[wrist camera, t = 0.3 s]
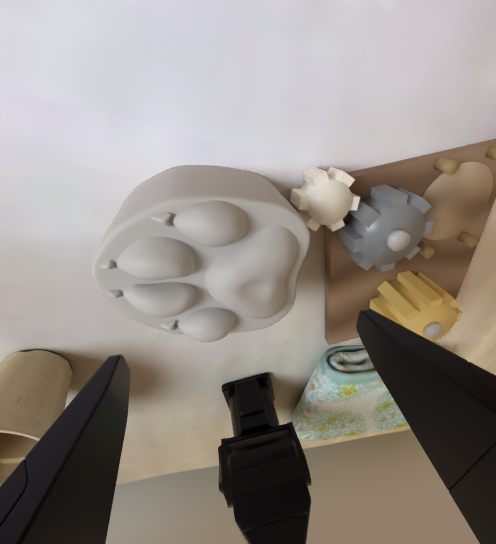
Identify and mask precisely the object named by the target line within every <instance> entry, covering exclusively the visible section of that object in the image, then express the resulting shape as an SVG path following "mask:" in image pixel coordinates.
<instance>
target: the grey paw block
mask: <svg viewBox="0 0 496 544" xmlns="http://www.w3.org/2000/svg"><path fill="white" fill-rule="evenodd" d="M309 245H310V232H309V229H308V226H307V224H306V223H305V221H304V220H303V218H302V217H301V216H300V215H299V213H298V212H297V211H296V210H295V209H294V208H293V207H292V206H291V204H290V203H289V202H288V201H287V200H286V199H285V198H284V197H283V196H282V195H281V193H280V192H279V191H278V190H277V189H276V188H275V187H274V186H273V185H272V183H271V182H270V181H268V180H267V179H266V178H264V177H263V176H261V175H259V174H256V173H253V172H250V171H245V170H239V169H234V168H228V167H220V166H207V165H184V166H176V167H173V168H170V169H167V170H165V171H163V172H161V173H159V174H157V175H155V176H153V177H151V178H149V179H148V180H146V181H144V182H143V183H141V184H140V185H139V186H137V187H136V188H135V189H134V190H133V191H132V192H131V193H130V194H129V196H128V197H127V198H126V200H125V201H124V203H123V204H122V206H121V208H120V209H119V211H118V213H117V215H116V216H115V218H114V220H113V222H112V223H111V225H110V227H109V229H108V230H107V232H106V234H105V236H104V238H103V239H102V241H101V243H100V245H99V247H98V249H97V251H96V253H95V256H94V259H93V262H92V275H93V279H94V282H95V285H96V287H97V288H98V290H99V291H100V293H101V294H102V295H103V297H104V298H105V299H106V300H107V301H108V302H109V303H111V304H112V305H113V306H114V307H115V308H117V309H118V310H119V311H121V312H122V313H123V314H125V315H126V316H128V317H130V318H132V319H133V320H135V321H138V322H140V323H143V324H145V325H148V326H150V327H154V328H157V329H160V330H163V331H166V332H170V333H174V334H185V335H187V336H188V337H190V338H192V339H194V340H197V341H200V342H213V341H217V340H219V339H222V338H223V337H225V336H226V335H227V334H228V333H235V332H245V331H253V330H258V329H262V328H266V327H268V326H271V325H273V324H274V323H276V322H277V321H279V320H280V319H282V318H283V317H284V316H285V315H286V314H287V313H288V312H289V311H290V309H291V308H292V306H293V304H294V300H295V295H296V281H297V276H298V273H299V270H300V267H301V265H302V263H303V261H304V259H305V257H306V255H307V252H308V249H309Z"/></svg>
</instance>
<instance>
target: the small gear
mask: <svg viewBox="0 0 496 544" xmlns="http://www.w3.org/2000/svg"><path fill="white" fill-rule="evenodd" d="M302 174H303V177H304V179H305V181H304V182H303V183H302V185H301V186H300V188H299V189H294V188H291V197H290V202H292V203H293V204H294V205H295V206H296V207H297V208H298V209H299V210H300V211H299V212H298V213H299V215H300V216H301V217H302V218H303V220H304V221H305V223H306V224H307V226H308V227H309V228H310V229H312V230H314V231H315V232H316V231H317V229H318V228H319V227H320V225H321V224H322V225H326V226H327V227H328V228H329V229H330V230H331V231H332V232H334V231H335V230H337V229H339V228H341V227H343V226H345V225H344V222H343V218H344V217H345V216H346V215H347V213H348V212H349V210H357V208H358V204H359V200H360V197H359V196H357V195H355V194H353V193H351V191H350V189H349V187H350V186H351V185H352V183H353V182H354V181H355V179H354V178H352V177H351V176H350V175H348V174H347V173H346V172H344V171H341V170H338V169H335V168H332V167H330V169H329V170H328V171H327V172H326V171H324V170H322V169H319V168H317V167H314V166H313V167H312V168H310V169H308V170H306V171H304V172H303V173H302Z"/></svg>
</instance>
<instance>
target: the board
mask: <svg viewBox="0 0 496 544" xmlns="http://www.w3.org/2000/svg"><path fill="white" fill-rule="evenodd" d="M347 174H348V175H350V176H351V177H352V178H354V179H355V181H354V182H353V183H352V185H351V186H350V187H349V189H350V191H351V193H353V194H355V195H357V196H359V197H360V201H361V202H362V201H363V200H364V199H366V198H368V197H370V195H371V187H375V186H379V185H384V184H386V185H388V186H390V187H392V188H394V189H396V190H397V189H398V188H399V187H400V188H402V189H405V190H407V191H409V192H411V193H413V194H416V195H418V196H420V197H422V198H424V199H425V200H426V201H427V202H428V203H429V204H430V205H431V207H430V208H429V209H428V210H427V211H426V212H425V213H424V214H423V215H424V216H426V217H428V218H430V219H432V220H434V223H433V227H432V230H431V234H429V235H425V236H422V238H421V240H420V242H419V243H418V245H417V247H418V248H420V249H421V250H420V251H419V252H418V253H417V254H415V255H414V256H413V257H412V258H411V259H410V260H409V259H408V258H406V257H404V258H402V259H401V260H399V261H397V262H395V266H394V269H392V270H388V271H384V272H380V271H379V270H378V269H377V268H376V267H375V266H374V265H372V266H371V267H370V268H369V269H368V270H365V269H364V268H362V267H361V266H359V265H358V264H357V263H356V262H355V261H354V260H353V259H352V258H351V257H350V256H349V255H348V254H347V253H346V252H345V251H344V250H343V248H344V247H345V246H346V245H345V244H344V243H343V242H342V241H341V240H340V239H339V238H338V229H337V230H335V231H334V232H332V231H331V230H330V229H329V228H328V227H327V226H326V245H325V339H326V341H327V342H328V344H329V345H331V344H335V343H339V342H342V341H346V340H350V339H354V338H357V337H360V336H359V334H358V332H357V329H356V323H357V319H358V315H359V312H360V311H361V310H365V309H371V308H370V300H371V299H373V298H377V296H378V294H379V293H380V291H379V290H378V289H377V288H378V287H379V286H380V285H381V284H382V283H383V282H384V281H387V282H388V283H390V282H391V281H393V280H395V279H397V277H398V273H401V272H405V271H410V272H412V273H413V274H414V275H415V276H416V275H417V274H418V273H419V272H421V273H422V274H424V275H425V276H426V277H428V278H429V279H430V280H431V281H433V282H434V283H435V284H437V285H438V286H439V287H440V288H442V289H443V290H444V291H446V292H447V293H448V294H449V295H451V296H452V297H453V298H455V299H456V297H457V295H458V292H459V290H460V287H461V285H462V282H463V280H464V277H465V274H466V272H467V269H468V267H469V264H470V262H471V259H472V257H473V254H474V251H475V249H476V246H477V244H478V243H479V241H480V236H481V233H482V231H483V228H484V226H485V223H486V221H487V218H488V216H489V213H490V210H491V208H492V205H493V203H494V200H495V198H496V139H493V140H489V141H485V142H480V143H476V144H471V145H467V146H463V147H458V148H454V149H450V150H445V151H441V152H436V153H432V154H428V155H423V156H419V157H415V158H410V159H406V160H401V161H397V162H393V163H388V164H384V165H380V166H375V167H371V168H366V169H362V170H358V171H353V172H349V173H347ZM349 216H350V213H349V212H348V213H347V215H346V216H345V217H344V218H343V222H344V224H346V223H347V220H348V218H349Z"/></svg>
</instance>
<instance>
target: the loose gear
mask: <svg viewBox="0 0 496 544" xmlns="http://www.w3.org/2000/svg"><path fill="white" fill-rule="evenodd" d="M377 289H378V290H379V291H380V293H379V294H378V296H377V298H373V299H371V300H370V308H371V309H372V310H374V311H376V312H378V313H379V314H381V315H383V316H385V317H387V318H389V319H391V320H393V321H394V322H396V323H398V324H400V325H402V326H404V327H406V328H407V329H409V330H411V331H413V332H415V333H417V334H419V335H420V336H422V337H424V338H426V339H428V340H430V341H432V342H434V341H436V340H438V339H441V338H442V337H443V336H445V335H446V334H447V333H449V332H450V331H449V330H450V329H451V328H452V327H453V325H454V324H455V322H457V321H459V319H460V317H461V315H462V312H461V311H460V310H459V309H457V307H458V306H459V305H460V304H461V303H460V302H458V301H457V300H456V299H455V298H453V297H452V296H451V295H449V294H448V293H447V292H446V291H444V290H443V289H442V288H440V287H439V286H438V285H437V284H435V283H434V282H433V281H431V280H430V279H429V278H428V277H426V276H425V275H424V274H422V273H421V272H419V273H418V274H417V275H416V276H415V275H414V274H413V273H412V272H410V271H405V272H401V273H398V277H397V279H395V280H393V281H391V282H390V283H388V282H387V281H384V282H383V283H382V284H381V285H380V286H379V287H378V288H377Z"/></svg>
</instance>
